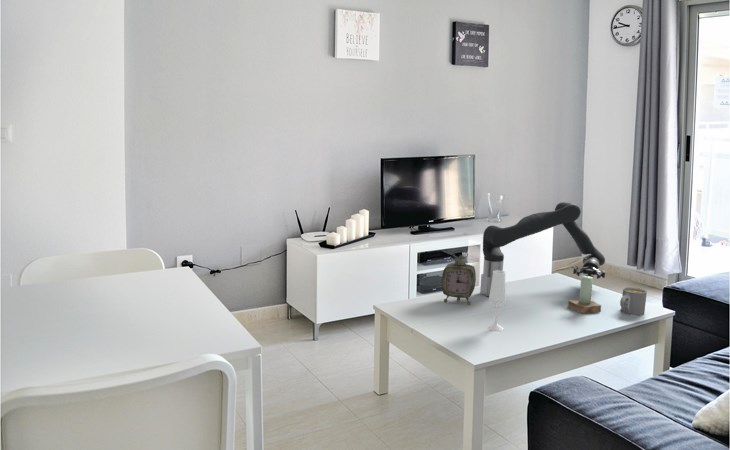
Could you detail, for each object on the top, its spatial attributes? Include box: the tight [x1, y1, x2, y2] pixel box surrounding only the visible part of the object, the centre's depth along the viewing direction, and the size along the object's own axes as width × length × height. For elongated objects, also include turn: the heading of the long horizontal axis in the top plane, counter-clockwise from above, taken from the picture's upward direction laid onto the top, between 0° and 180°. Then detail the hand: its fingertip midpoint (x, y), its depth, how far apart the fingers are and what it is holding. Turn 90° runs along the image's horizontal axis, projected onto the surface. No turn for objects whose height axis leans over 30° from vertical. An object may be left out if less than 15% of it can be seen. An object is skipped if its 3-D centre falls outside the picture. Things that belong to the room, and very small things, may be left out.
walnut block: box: [567, 299, 602, 315], centre depth 301 cm, size 10×10×3 cm
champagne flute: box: [486, 270, 507, 332], centre depth 271 cm, size 7×7×24 cm
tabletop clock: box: [441, 248, 477, 306], centre depth 305 cm, size 14×9×25 cm, turn 73°
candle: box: [578, 275, 594, 305], centre depth 300 cm, size 5×5×13 cm
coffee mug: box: [619, 286, 648, 316], centre depth 299 cm, size 13×10×10 cm
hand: (588, 275), depth 309 cm, fingers open, 8 cm apart
